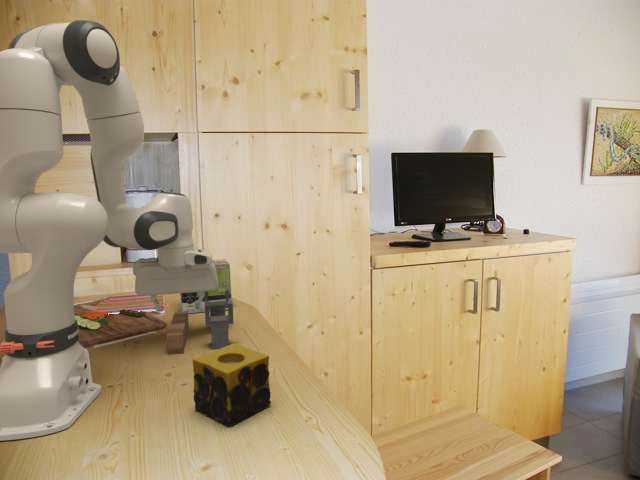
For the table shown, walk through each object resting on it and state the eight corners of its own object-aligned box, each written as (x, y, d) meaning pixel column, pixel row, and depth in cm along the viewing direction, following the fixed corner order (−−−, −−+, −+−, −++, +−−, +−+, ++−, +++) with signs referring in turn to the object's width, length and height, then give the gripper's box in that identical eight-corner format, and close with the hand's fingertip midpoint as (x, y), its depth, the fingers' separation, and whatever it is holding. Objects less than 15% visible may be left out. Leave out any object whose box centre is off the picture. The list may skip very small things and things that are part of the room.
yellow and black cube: (236, 390, 95) (234, 342, 94) (272, 406, 89) (271, 354, 88) (192, 410, 88) (190, 357, 86) (229, 429, 81) (227, 372, 80)
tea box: (227, 302, 160) (226, 257, 158) (232, 310, 150) (230, 263, 148) (180, 306, 155) (178, 260, 153) (181, 315, 146) (179, 266, 144)
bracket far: (230, 329, 132) (229, 290, 131) (205, 331, 131) (204, 291, 129) (229, 324, 136) (228, 286, 134) (205, 326, 134) (204, 288, 133)
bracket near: (234, 347, 119) (232, 303, 117) (206, 349, 117) (204, 305, 116) (233, 341, 123) (231, 299, 121) (206, 344, 121) (204, 301, 119)
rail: (183, 354, 115) (182, 334, 114) (168, 355, 114) (167, 335, 114) (188, 328, 134) (187, 310, 134) (175, 329, 134) (174, 311, 133)
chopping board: (21, 316, 147) (20, 306, 146) (111, 300, 165) (111, 291, 165) (70, 356, 115) (69, 344, 114) (175, 330, 133) (174, 320, 133)
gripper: (130, 261, 116) (134, 316, 118) (217, 256, 121) (219, 310, 123) (133, 256, 122) (137, 309, 124) (216, 252, 127) (218, 302, 129)
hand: (179, 309), depth 124 cm, fingers open, 8 cm apart
